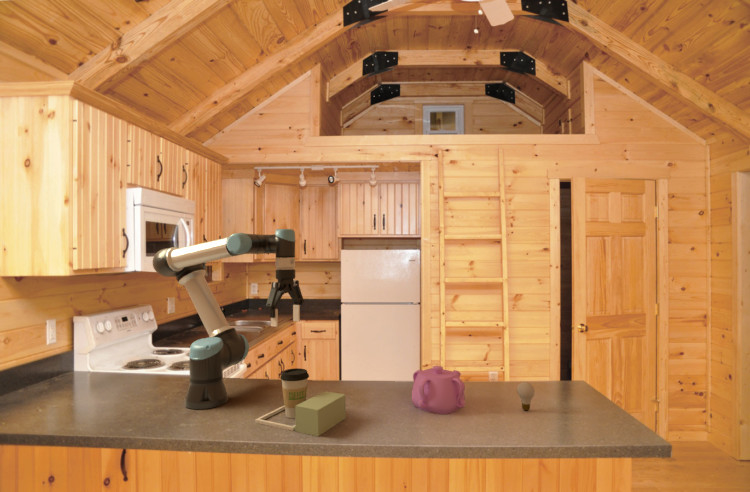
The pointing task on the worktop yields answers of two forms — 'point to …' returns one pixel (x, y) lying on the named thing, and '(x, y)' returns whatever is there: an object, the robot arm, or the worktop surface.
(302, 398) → the coffee cup
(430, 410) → the pink pot with handles
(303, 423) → the green block with frame
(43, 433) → the worktop surface
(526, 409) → the light bulb
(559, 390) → the worktop surface
